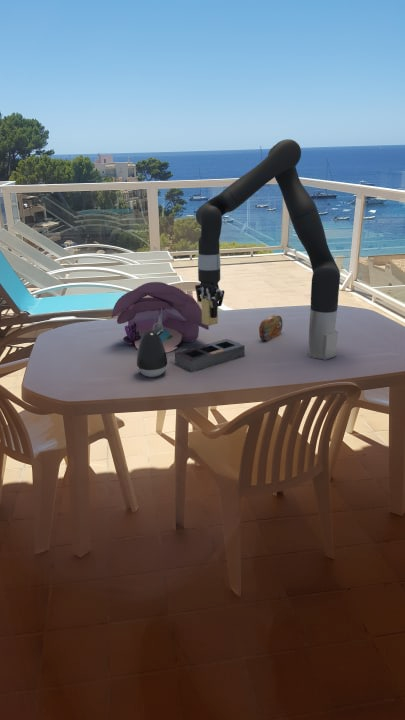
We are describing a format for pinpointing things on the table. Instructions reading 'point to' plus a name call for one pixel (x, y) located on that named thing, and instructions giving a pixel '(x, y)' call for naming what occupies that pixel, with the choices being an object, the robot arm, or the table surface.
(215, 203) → the robot arm
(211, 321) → the square peg
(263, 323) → the tin
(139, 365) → the aroma diffuser
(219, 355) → the hole rail
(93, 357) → the table surface
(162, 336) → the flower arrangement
